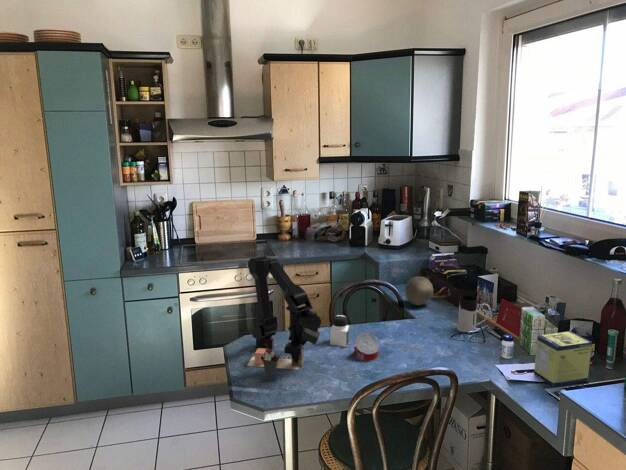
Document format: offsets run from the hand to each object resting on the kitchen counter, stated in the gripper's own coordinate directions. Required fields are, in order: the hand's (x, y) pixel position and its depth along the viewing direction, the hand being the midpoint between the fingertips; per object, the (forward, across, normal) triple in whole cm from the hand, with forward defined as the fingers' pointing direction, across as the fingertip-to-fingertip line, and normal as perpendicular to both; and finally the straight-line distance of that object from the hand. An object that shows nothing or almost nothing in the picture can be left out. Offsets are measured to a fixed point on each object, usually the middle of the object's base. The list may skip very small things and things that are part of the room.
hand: (297, 361), depth 198 cm
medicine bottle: (+3, +25, -14) cm, 29 cm away
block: (+1, 0, +14) cm, 14 cm away
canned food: (+3, +15, -26) cm, 30 cm away
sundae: (+3, -14, +7) cm, 16 cm away
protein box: (+3, +8, -98) cm, 98 cm away
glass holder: (+3, +49, -72) cm, 87 cm away
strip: (+2, 0, +9) cm, 9 cm away
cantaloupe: (+3, +79, -49) cm, 93 cm away
